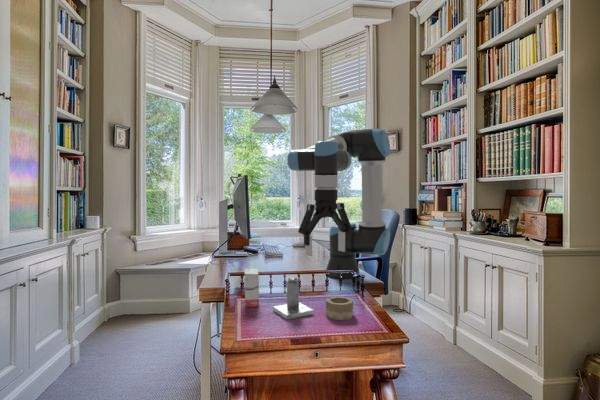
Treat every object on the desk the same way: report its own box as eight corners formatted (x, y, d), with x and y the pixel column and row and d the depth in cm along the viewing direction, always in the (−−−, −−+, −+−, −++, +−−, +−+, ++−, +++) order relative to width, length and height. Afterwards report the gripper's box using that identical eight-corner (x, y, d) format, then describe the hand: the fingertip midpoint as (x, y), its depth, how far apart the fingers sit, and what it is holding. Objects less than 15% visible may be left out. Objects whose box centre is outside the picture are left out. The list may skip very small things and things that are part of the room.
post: (298, 306, 150) (298, 273, 149) (313, 314, 142) (313, 280, 141) (273, 310, 145) (272, 277, 145) (286, 319, 137) (286, 284, 136)
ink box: (258, 307, 149) (258, 273, 149) (244, 307, 149) (244, 274, 148) (259, 299, 158) (258, 268, 157) (245, 300, 158) (245, 268, 157)
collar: (342, 309, 146) (342, 295, 146) (357, 316, 139) (357, 301, 139) (321, 313, 142) (322, 299, 142) (336, 321, 135) (336, 306, 135)
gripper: (347, 187, 150) (347, 247, 152) (287, 189, 136) (287, 255, 138) (362, 188, 144) (361, 251, 145) (300, 190, 130) (300, 259, 131)
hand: (325, 253), depth 141 cm, fingers open, 13 cm apart
